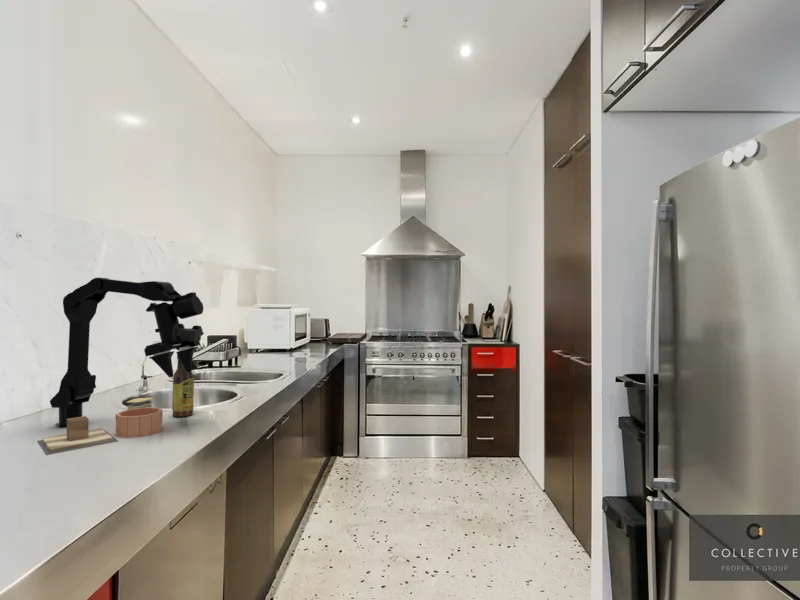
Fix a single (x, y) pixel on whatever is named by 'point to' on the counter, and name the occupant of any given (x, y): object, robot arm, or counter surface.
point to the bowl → (138, 422)
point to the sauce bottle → (182, 391)
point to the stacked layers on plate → (139, 403)
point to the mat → (73, 448)
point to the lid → (76, 436)
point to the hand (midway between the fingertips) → (180, 374)
